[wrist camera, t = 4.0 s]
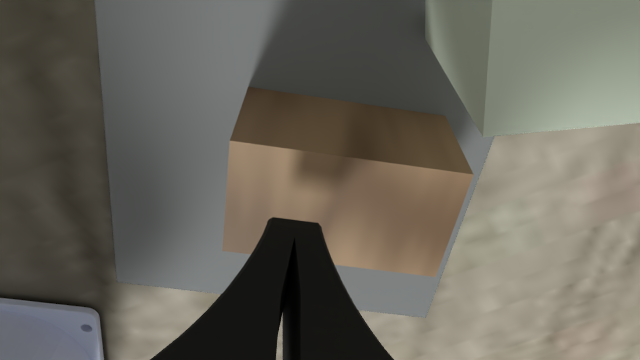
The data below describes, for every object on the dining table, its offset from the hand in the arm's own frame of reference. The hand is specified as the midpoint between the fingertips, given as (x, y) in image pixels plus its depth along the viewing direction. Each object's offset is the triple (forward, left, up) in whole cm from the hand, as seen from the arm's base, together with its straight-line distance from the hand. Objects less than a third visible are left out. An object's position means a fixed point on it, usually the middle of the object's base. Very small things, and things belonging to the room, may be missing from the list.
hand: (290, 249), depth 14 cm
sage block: (+7, -5, -6) cm, 10 cm away
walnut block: (0, +2, -4) cm, 4 cm away
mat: (0, 0, -6) cm, 6 cm away
